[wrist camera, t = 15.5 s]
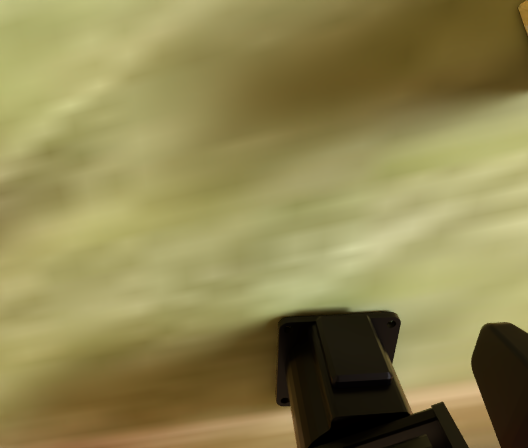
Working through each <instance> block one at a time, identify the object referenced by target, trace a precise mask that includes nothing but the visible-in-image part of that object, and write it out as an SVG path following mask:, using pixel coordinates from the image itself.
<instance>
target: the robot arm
mask: <svg viewBox="0 0 528 448" xmlns="http://www.w3.org/2000/svg"><path fill="white" fill-rule="evenodd" d="M389 321H392V322H390V323H388V322H389ZM400 325H401V321H400V319H399V317H398V315H397V314H396V313H394V312H382V313H362V314H342V315H322V316H303V317H287V318H283V319H281V320H280V321H279V324H278V342H277V370H276V402H277V404H278V405H280V406H291V412H292V418H293V424H294V431H295V437H296V443H297V448H469V447H468V445H467V444H466V442H465V440H464V438H463V436H462V435H461V433H460V431H459V429H458V428H457V426H456V424H455V422H454V420H453V419H452V417H451V415H450V413H449V412H448V410H447V408H446V406H445V404H444V403H443V402H440V403H437V404H434V405H431V407H432V408H429V409H426V410H423V411H420V412H417V413H414V414H413V413H412V411H411V408H410V406H409V404H408V401H407V399H406V396H405V394H404V392H403V389H402V387H401V385H400V382H399V380H398V377H397V375H396V373H395V370H394V368H393V366H392V362H393V358H394V353H395V348H396V344H397V339H398V334H399V329H400ZM287 326H291V327H290V328H285V327H287ZM471 365H472V371H473V374H474V377H475V379H476V382H477V385H478V387H479V390H480V393H481V395H482V398H483V401H484V403H485V406H486V409H487V411H488V414H489V417H490V419H491V422H492V425H493V428H494V430H495V433H496V436H497V438H498V441H499V444H500V446H501V448H528V333H527V332H525V331H523V330H522V329H520V328H518V327H517V326H515V325H513V324H511V323H507V322H500V323H487V324H485V325H484V326H483V327H482V328H481V330H480V333H479V337H478V340H477V343H476V346H475V349H474V352H473V355H472V359H471Z"/></svg>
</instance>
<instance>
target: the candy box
mask: <svg viewBox="0 0 528 448" xmlns="http://www.w3.org/2000/svg"><path fill="white" fill-rule="evenodd" d="M518 9H519V12H520V15H521V18H522V21H523V24H524V27H525V29H526V32H527V35H528V0H526V1H525V2H523V3H522V4H520V5H519V7H518Z"/></svg>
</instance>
